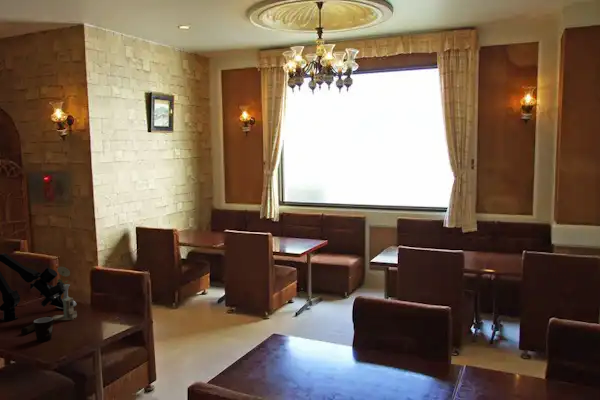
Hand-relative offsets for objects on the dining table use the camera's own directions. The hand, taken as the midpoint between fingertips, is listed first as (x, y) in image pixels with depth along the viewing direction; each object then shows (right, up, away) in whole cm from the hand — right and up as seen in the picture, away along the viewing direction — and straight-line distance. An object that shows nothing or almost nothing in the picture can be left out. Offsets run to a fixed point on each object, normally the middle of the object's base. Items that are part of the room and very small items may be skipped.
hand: (64, 307), depth 281 cm
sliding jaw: (+1, -5, 0) cm, 5 cm away
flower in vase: (-9, -5, +21) cm, 24 cm away
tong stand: (-1, -6, +1) cm, 6 cm away
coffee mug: (+6, -9, -31) cm, 33 cm away
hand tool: (-7, -8, -16) cm, 19 cm away
